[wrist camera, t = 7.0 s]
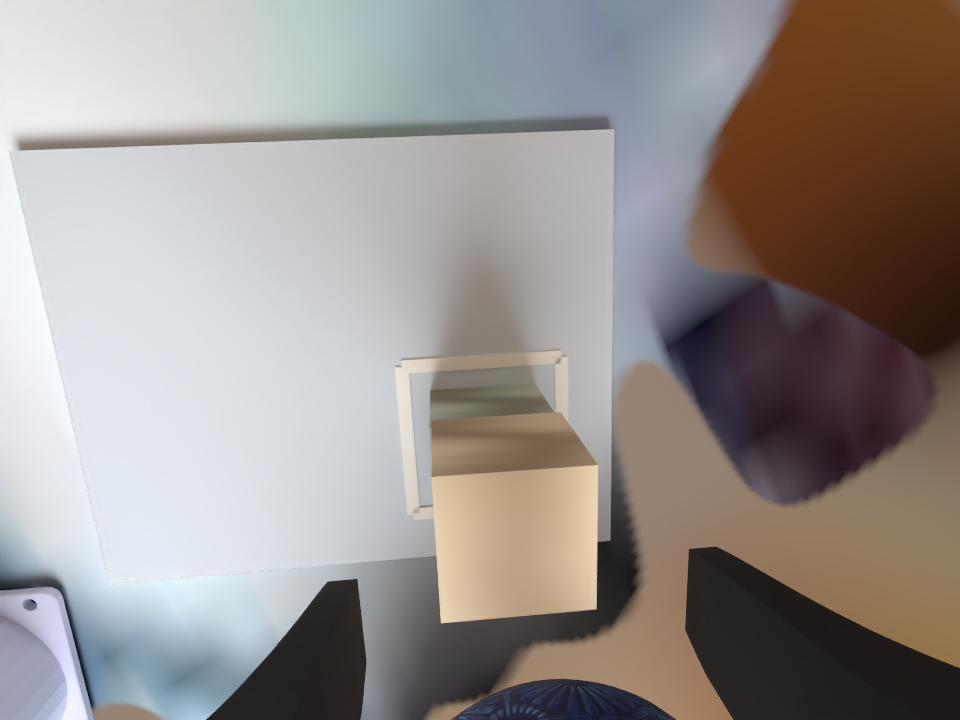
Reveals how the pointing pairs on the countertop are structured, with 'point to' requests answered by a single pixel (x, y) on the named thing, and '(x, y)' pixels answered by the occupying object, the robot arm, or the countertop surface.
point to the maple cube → (513, 517)
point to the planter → (563, 703)
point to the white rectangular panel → (311, 330)
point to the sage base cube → (486, 402)
